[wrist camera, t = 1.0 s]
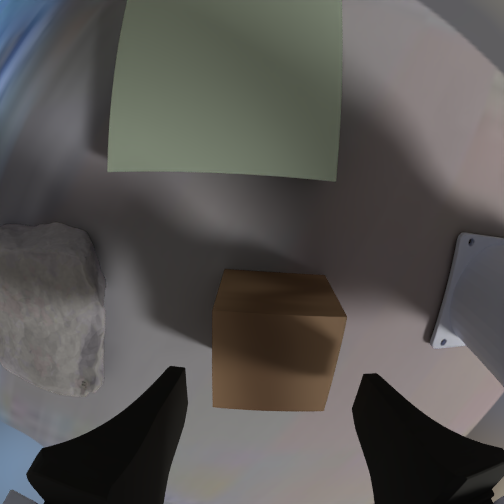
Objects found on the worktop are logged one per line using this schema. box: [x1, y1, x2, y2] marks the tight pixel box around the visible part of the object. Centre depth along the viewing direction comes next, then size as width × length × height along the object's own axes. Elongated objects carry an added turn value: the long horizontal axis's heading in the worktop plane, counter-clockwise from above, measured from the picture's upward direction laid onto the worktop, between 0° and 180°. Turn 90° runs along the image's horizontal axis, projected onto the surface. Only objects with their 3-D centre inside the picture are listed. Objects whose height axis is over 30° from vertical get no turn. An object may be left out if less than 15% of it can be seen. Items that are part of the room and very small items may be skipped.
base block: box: [107, 0, 342, 182], centre depth 13 cm, size 10×10×3 cm
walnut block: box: [212, 269, 347, 411], centre depth 16 cm, size 6×6×5 cm
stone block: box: [0, 222, 106, 397], centre depth 17 cm, size 12×5×10 cm
